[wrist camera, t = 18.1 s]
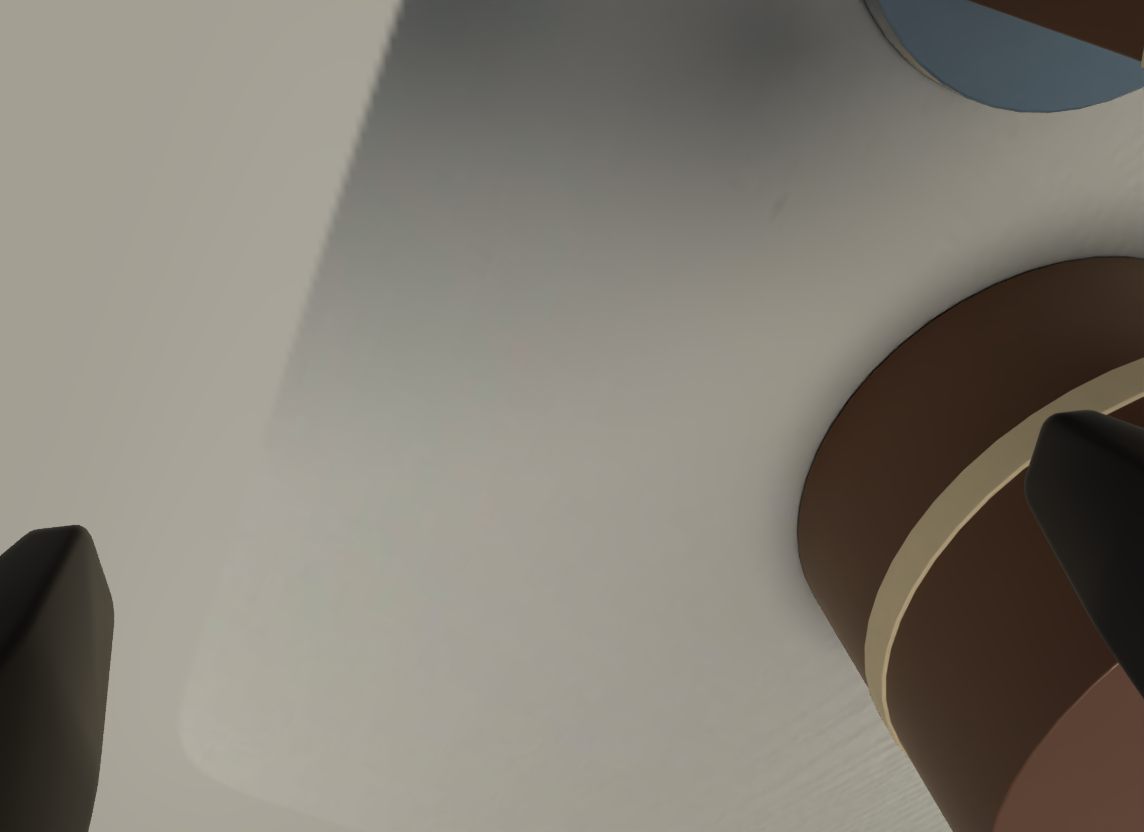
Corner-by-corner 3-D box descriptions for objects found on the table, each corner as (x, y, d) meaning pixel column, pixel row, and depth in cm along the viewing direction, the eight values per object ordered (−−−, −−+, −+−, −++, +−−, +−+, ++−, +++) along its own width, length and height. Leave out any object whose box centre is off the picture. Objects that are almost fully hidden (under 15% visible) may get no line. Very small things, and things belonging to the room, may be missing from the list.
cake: (766, 681, 31) (920, 1001, 23) (834, 275, 24) (1101, 539, 16) (1155, 619, 34) (1417, 888, 26) (1331, 233, 26) (1787, 442, 18)
